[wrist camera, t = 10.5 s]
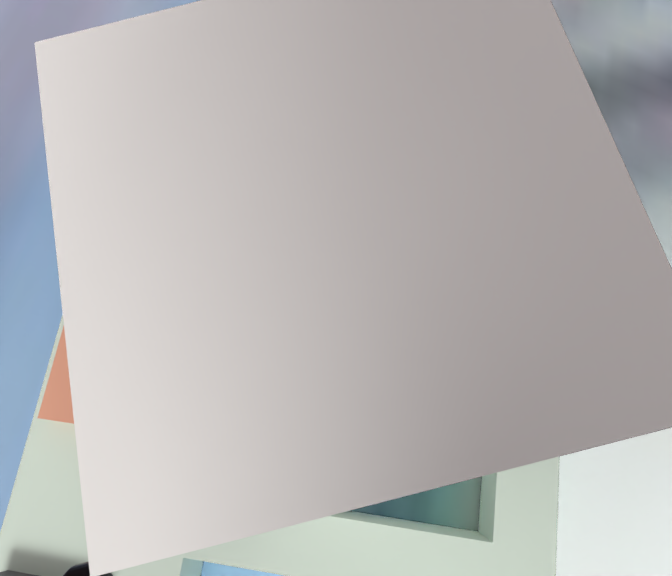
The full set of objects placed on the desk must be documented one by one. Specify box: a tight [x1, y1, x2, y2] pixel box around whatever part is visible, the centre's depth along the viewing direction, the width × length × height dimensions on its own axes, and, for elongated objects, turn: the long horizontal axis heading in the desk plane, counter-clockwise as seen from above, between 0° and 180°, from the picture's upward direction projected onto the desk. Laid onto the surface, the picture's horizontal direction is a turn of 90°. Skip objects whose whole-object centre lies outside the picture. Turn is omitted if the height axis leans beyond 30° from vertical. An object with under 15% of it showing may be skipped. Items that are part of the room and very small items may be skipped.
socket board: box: [0, 315, 560, 576], centre depth 15 cm, size 20×14×2 cm
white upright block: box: [35, 0, 672, 576], centre depth 11 cm, size 5×5×12 cm
